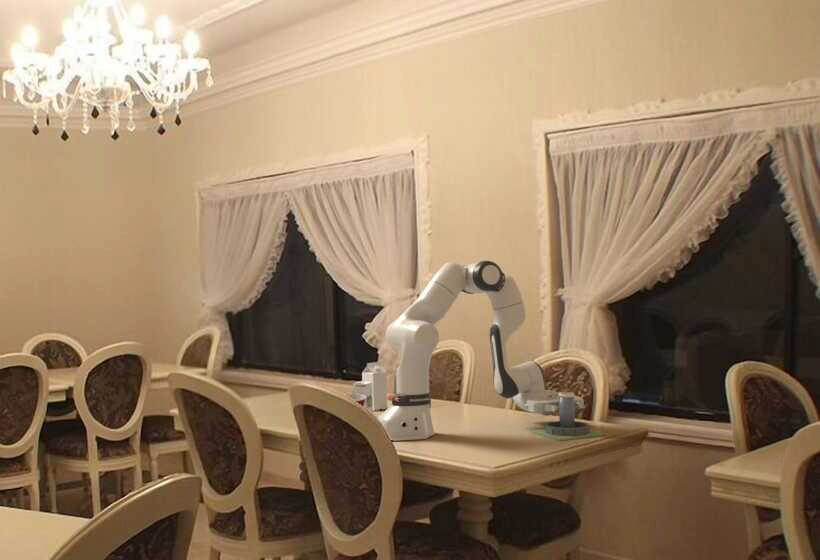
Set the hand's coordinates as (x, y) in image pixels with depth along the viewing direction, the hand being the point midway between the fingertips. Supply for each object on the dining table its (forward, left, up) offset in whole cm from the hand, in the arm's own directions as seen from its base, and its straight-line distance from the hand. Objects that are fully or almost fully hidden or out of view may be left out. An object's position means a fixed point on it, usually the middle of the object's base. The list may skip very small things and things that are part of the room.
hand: (568, 407), depth 284 cm
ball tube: (0, +1, -8) cm, 8 cm away
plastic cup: (-60, +46, -9) cm, 76 cm away
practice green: (0, +1, -9) cm, 9 cm away
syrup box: (-50, +61, -9) cm, 79 cm away
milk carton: (-36, +84, -9) cm, 92 cm away
